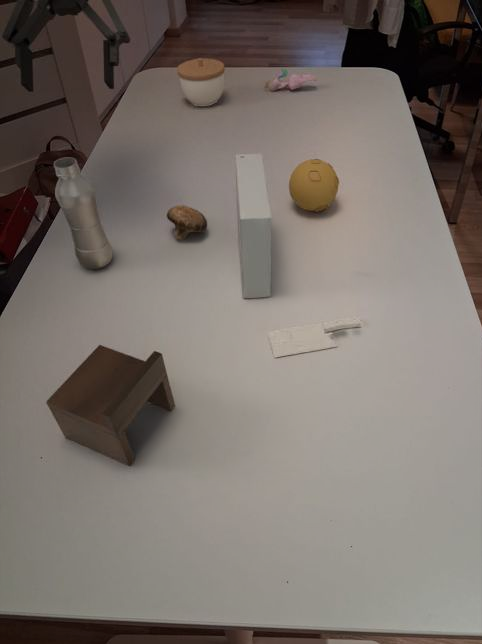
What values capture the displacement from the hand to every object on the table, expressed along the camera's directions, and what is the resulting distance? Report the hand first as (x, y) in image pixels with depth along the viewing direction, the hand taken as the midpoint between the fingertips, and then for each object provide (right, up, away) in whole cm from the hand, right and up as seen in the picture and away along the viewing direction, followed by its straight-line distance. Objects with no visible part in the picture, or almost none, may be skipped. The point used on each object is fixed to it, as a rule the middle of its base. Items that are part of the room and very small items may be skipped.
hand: (68, 86), depth 88 cm
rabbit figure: (+40, +31, +65) cm, 82 cm away
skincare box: (+30, -27, +11) cm, 42 cm away
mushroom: (+17, -20, +18) cm, 32 cm away
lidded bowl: (+16, +26, +62) cm, 69 cm away
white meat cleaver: (+40, -41, -3) cm, 58 cm away
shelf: (+12, -53, -12) cm, 56 cm away
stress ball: (+42, -14, +23) cm, 50 cm away
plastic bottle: (+1, -27, +13) cm, 30 cm away
